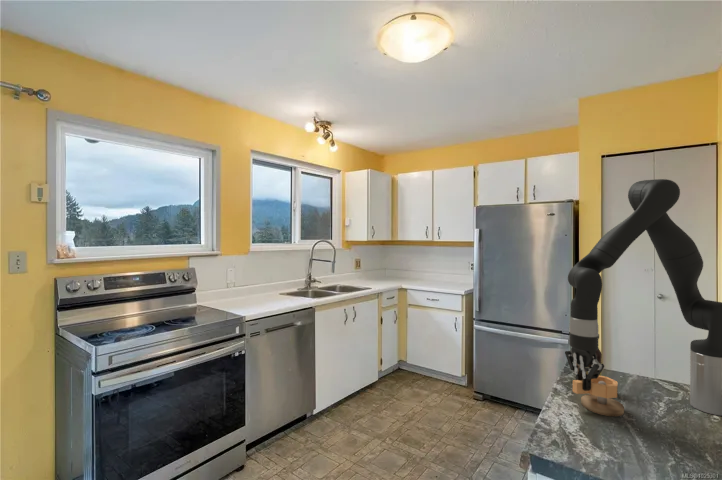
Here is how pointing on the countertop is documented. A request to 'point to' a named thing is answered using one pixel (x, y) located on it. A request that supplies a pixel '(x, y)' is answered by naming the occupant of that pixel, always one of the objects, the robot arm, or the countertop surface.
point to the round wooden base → (602, 404)
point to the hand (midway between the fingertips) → (583, 388)
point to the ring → (598, 387)
